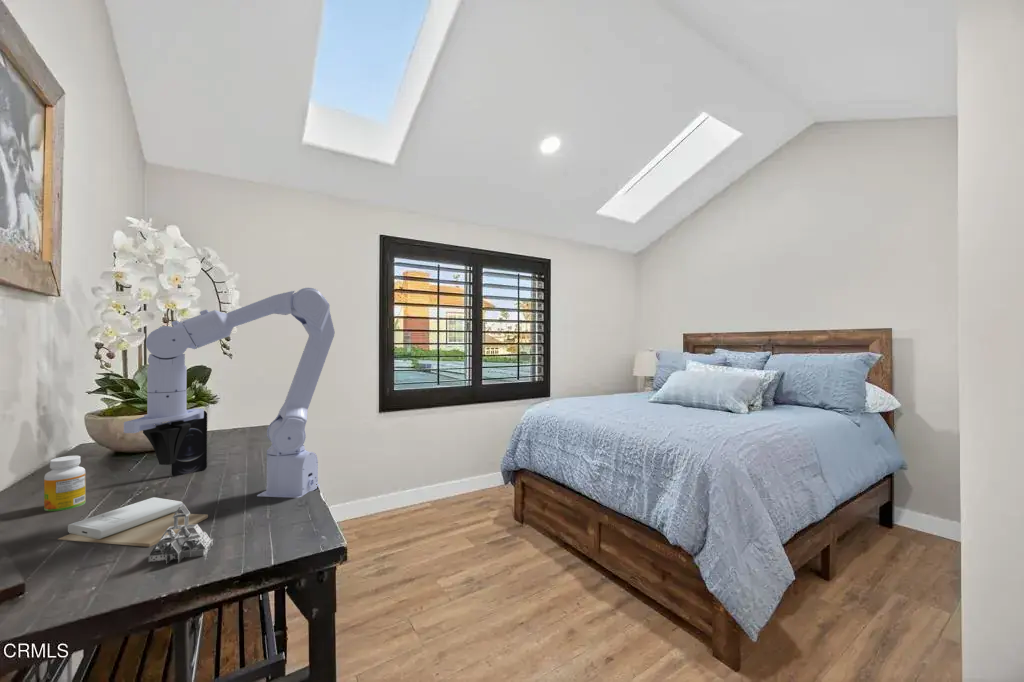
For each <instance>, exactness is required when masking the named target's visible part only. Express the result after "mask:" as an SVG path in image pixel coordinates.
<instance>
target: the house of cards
mask: <svg viewBox="0 0 1024 682" xmlns="http://www.w3.org/2000/svg"><path fill="white" fill-rule="evenodd" d="M180 508H181V510H180ZM179 511H182V514H177V513H179ZM174 513H175V515H174V516H173V517H172V518H174V526H171V527H169V528H168V529H167V530H166V531H165V533H164V534H163V536H162V537H161V539H160V541H159V542H158V543H157V544H155V546H153V549H152V550H151V551H150V553H149V554H148V555H147V556H146V557H147V562H148V563H150V562H158V561H159V562H160V561H165V563H166V565H168V564H169V563H170V562H171V561H172V560H177V564H179V563H180V562H181V561H182V560H183V559H184V557H185V558H195V557H204V556H206V554H207V553H208V551H211V548H212V546H213V545H214V543H213V541H214V538H210V537H209V535H208V533H207V532H206V531H203V530H202V528H201V527H200V526H199V524H198V523H197V524H193V525H188V515H189V514H191V512H190V511H189V510H188V508H187V506H186V505H185V503H183V504H182V505H181V506H180V507H179V508H178V510H177V511H176V512H174ZM178 517H185V525H180V526H178ZM182 526H183V527H182ZM173 529H180V530H179V531H178V533H177V534H175V532H174V531H173ZM188 529H191V531H189V530H188ZM194 530H195V531H196V532H194ZM180 531H181V532H180ZM166 533H168V534H169V535H166V536H165V534H166ZM180 533H182V535H180ZM180 560H181V561H180ZM167 563H168V564H167Z"/></svg>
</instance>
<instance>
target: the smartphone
mask: <svg viewBox="0 0 1024 682" xmlns="http://www.w3.org/2000/svg"><path fill="white" fill-rule="evenodd" d="M184 423H190V429H189V431H188V432H187V434H186V435H185V437H184V439H183V441H182V443H181V446H180V448H179V451H178V455H177V458H176V461H175V463H173V464H170V465H169V475H170V476H171V477H172V476H173V477H174V478H175V477H179V476H183V475H188V474H194V473H197V472H198V473H200V472H204V471H206V470H207V468H208V412H207V411H206V410H204V418H202V419H193V420H189V421H184Z"/></svg>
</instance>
